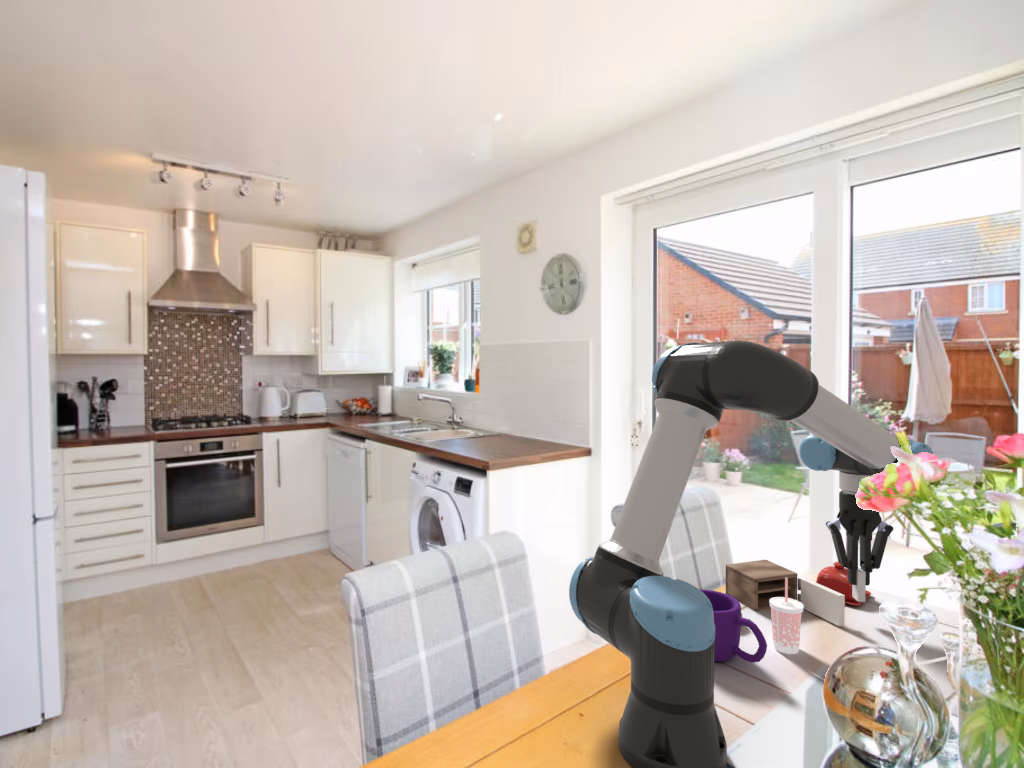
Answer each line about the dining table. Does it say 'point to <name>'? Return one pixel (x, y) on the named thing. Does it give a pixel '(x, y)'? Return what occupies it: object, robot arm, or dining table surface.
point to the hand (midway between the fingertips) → (858, 599)
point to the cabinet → (759, 583)
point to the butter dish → (839, 582)
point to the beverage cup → (786, 622)
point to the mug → (732, 628)
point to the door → (822, 601)
